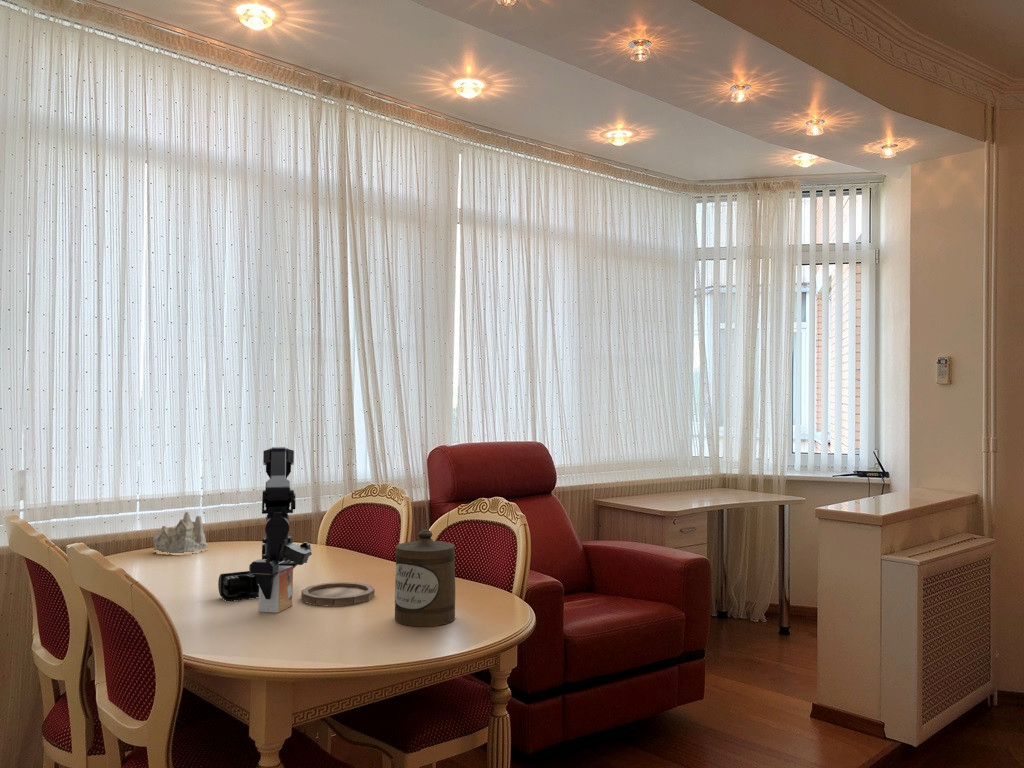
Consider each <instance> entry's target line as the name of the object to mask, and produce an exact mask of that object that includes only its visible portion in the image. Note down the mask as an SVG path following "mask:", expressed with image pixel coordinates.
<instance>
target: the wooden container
mask: <svg viewBox="0 0 1024 768" xmlns="http://www.w3.org/2000/svg"><path fill="white" fill-rule="evenodd" d="M417 535H418V537H419V539H417V540H416V541H407V542H402V543H398V544H396V545H395V578H394V579H395V583H394V620H395V622H397V623H398V624H400V625H404V626H407V627H416V628H418V627H420V628H422V627H423V628H424V627H425V628H426V627H437V626H442V625H447V624H450V623H451V622H453V621H455V618H456V569H455V566H456V565H455V558H456V557H455V555H456V554H455V553H456V552H455V551H456V549H455V548H456V547H455V544H454V543H452V542H449V541H448V542H446V541H442V540H433V532H432V531H431V530H430V529H425V528H423V529H422V530H421V531H419V532H418V534H417Z"/></svg>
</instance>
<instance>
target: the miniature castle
mask: <svg viewBox="0 0 1024 768" xmlns="http://www.w3.org/2000/svg"><path fill="white" fill-rule="evenodd" d="M203 525H204V524H203V521H202V515H196V516H195V521H192V519H191V517H190V514H189V511H185V512H184V514H183V519H179V521H178V523H177V524H176V525H175V526H174V527H168V528H167V526H166V525H163V526H161V530H160V529H159V530H157V531H156V533H155V535H154V536H153V538H152V541H153V544H154V548H153V550H159V551H161V552H167V553H168V552H169V553H184V552H194V551H197V550H201V549H205V548H208V547H209V544H208V542H207V541H206V534H207V532H206V531H205V530H204V527H203Z"/></svg>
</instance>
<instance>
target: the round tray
mask: <svg viewBox="0 0 1024 768" xmlns="http://www.w3.org/2000/svg"><path fill="white" fill-rule="evenodd" d="M375 592H376V591H375V588H374V587H373V586H372V585H370V584H366V583H363V582H362V583H361V582H354V581H353V582H352V581H351V582H350V581H337V582H335V581H334V582H324V583H318V584H313V585H309V586H307V587H305V588H302V589H301V595H300V596H301V597H302V598H301V600H302V599H303V600H302V602H303V601H304V602H303V603H305V602H308V603H307V604H309V603H311V604H310V605H313V604H315V605H314V606H321V605H328V606H327V607H337V606H336V605H343V606H349V605H348V604H353V605H357V604H356V603H358V604H361V603H360V602H363V603H366V602H365V601H367V602H369V601H370V599H371V600H372V599H374V598H375ZM334 605H335V606H334Z"/></svg>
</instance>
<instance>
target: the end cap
mask: <svg viewBox="0 0 1024 768" xmlns="http://www.w3.org/2000/svg"><path fill="white" fill-rule="evenodd" d="M217 582H218V583H217V585H218V588H217V589H218V592H219V595H220V597H221V598H222V600H223V599H224V601H225V600H226V601H230V602H235V601H234V600H238V601H243V600H242V599H246V600H250V599H249V598H254V599H257V598H256V597H259V584H258V582H257V581H256V579H255V577H254V576H252V573H249V570H246V571H235V572H225V573H220V574H219V577H218V581H217ZM226 601H225V602H226Z"/></svg>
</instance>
